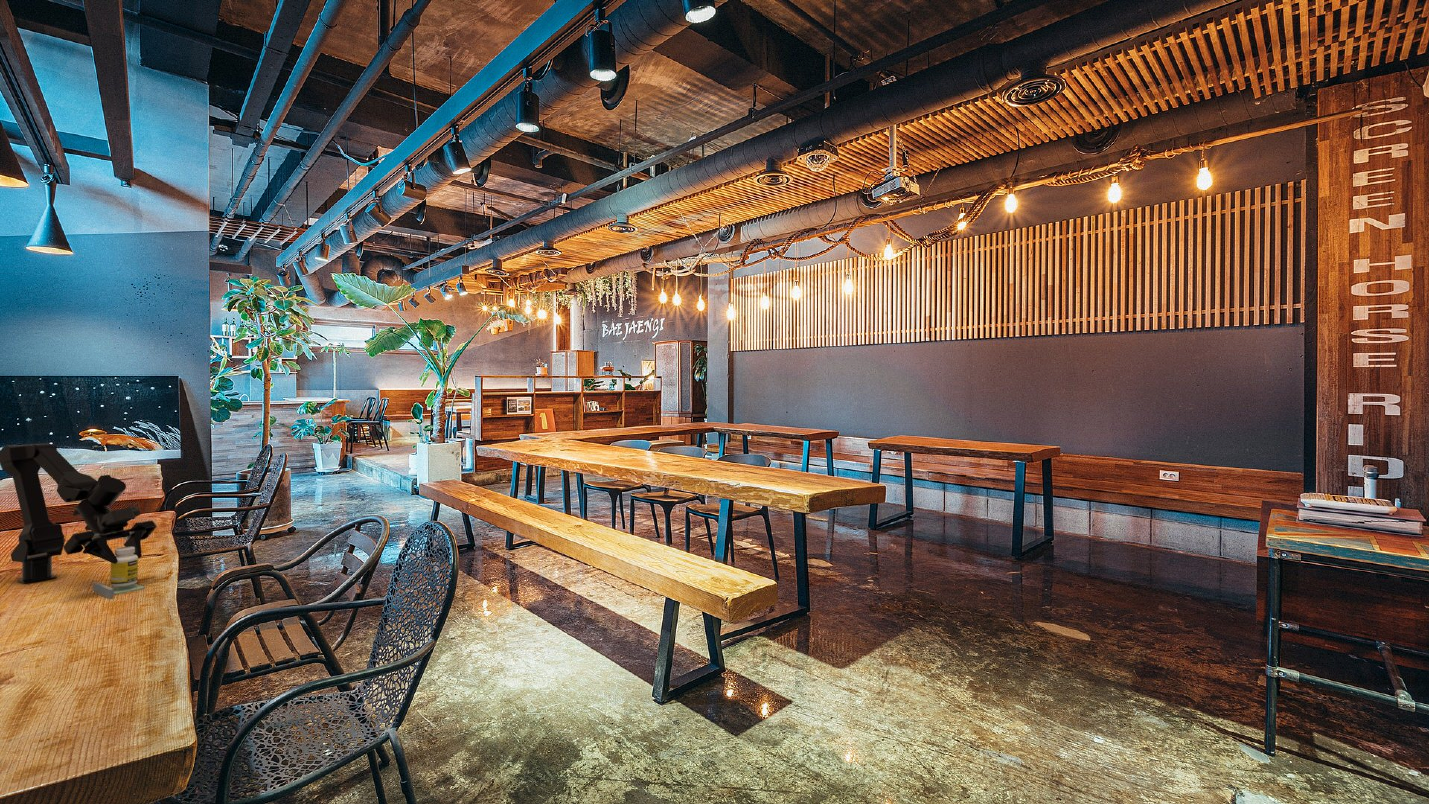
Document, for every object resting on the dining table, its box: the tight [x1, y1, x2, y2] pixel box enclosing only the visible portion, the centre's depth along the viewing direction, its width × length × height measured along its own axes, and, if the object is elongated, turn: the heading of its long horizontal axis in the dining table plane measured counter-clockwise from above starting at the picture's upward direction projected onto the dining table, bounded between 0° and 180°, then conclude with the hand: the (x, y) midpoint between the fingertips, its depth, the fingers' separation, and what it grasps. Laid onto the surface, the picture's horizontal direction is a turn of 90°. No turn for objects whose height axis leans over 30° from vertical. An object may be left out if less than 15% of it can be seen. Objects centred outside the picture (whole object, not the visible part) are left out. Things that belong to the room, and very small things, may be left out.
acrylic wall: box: [92, 581, 115, 600], centre depth 164 cm, size 12×1×2 cm, turn 60°
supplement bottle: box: [109, 546, 139, 587], centre depth 169 cm, size 5×5×10 cm
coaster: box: [111, 583, 145, 595], centre depth 169 cm, size 7×6×1 cm
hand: (128, 559), depth 168 cm, fingers closed on supplement bottle, 5 cm apart
